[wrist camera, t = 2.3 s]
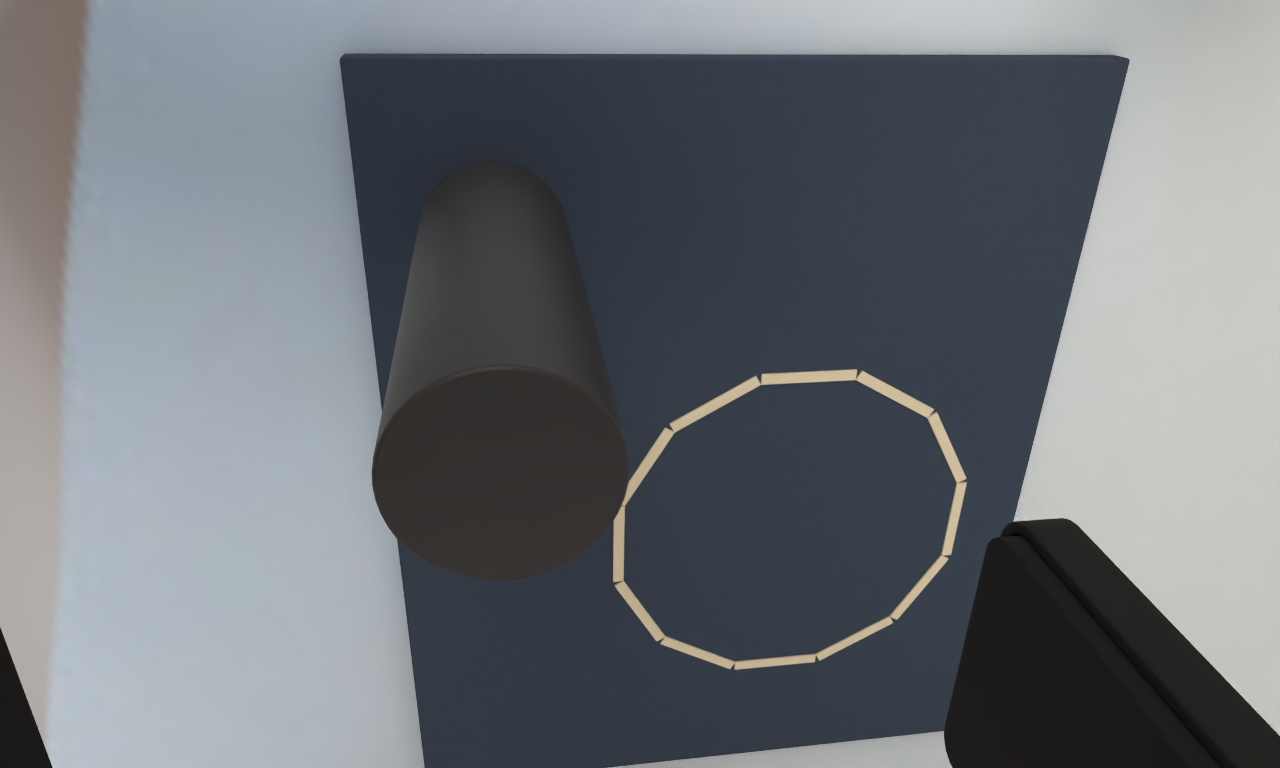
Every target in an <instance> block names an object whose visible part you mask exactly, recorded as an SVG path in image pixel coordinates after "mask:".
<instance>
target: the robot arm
mask: <svg viewBox="0 0 1280 768" xmlns="http://www.w3.org/2000/svg"><path fill="white" fill-rule="evenodd" d="M944 740H945V747H946V752H947V755H948V758H949V761H950V763H951V765H952V767H953V768H1280V736H1279V735H1278V734H1277V733H1276V732H1275V731H1274V730H1273V729H1272V728H1271V727H1270V725H1269V724H1268V723H1267V722H1266V721H1265V720H1264V719H1263V718H1262V717H1261V716H1260V715H1259V714H1258V713H1257V712H1256V711H1255V710H1254V709H1253V708H1252V707H1251V706H1250V705H1249V704H1248V703H1247V701H1246V700H1245V699H1244V698H1243V697H1242V696H1241V695H1240V694H1239V693H1238V692H1237V691H1236V690H1235V689H1234V688H1233V687H1232V686H1231V685H1230V684H1229V683H1228V682H1227V681H1226V680H1225V679H1224V678H1223V676H1222V675H1221V674H1220V673H1219V672H1218V671H1217V670H1216V669H1215V668H1214V667H1213V666H1212V665H1211V664H1210V663H1209V662H1208V661H1207V660H1206V659H1205V658H1204V657H1203V656H1202V655H1201V654H1200V653H1199V651H1198V650H1197V649H1196V648H1195V647H1194V646H1193V645H1192V644H1191V643H1190V642H1189V641H1188V640H1187V639H1186V638H1185V637H1184V636H1183V635H1182V634H1181V633H1180V632H1179V631H1178V630H1177V629H1176V628H1175V626H1174V625H1173V624H1172V623H1171V622H1170V621H1169V620H1168V619H1167V618H1166V617H1165V616H1164V615H1163V614H1162V613H1161V612H1160V611H1159V610H1158V609H1157V608H1156V607H1155V606H1154V605H1153V604H1152V603H1151V601H1150V600H1149V599H1148V598H1147V597H1146V596H1145V595H1144V594H1143V593H1142V592H1141V591H1140V590H1139V589H1138V588H1137V587H1136V586H1135V585H1134V584H1133V583H1132V582H1131V581H1130V580H1129V579H1128V577H1127V576H1126V575H1125V574H1124V573H1123V572H1122V571H1121V570H1120V569H1119V568H1118V567H1117V566H1116V565H1115V564H1114V563H1113V562H1112V561H1111V560H1110V559H1109V558H1108V557H1107V556H1106V555H1105V554H1104V552H1103V551H1102V550H1101V549H1100V548H1099V547H1098V546H1097V545H1096V544H1095V543H1094V542H1093V541H1092V540H1091V539H1090V538H1089V537H1088V536H1087V535H1086V534H1085V533H1084V532H1083V531H1082V530H1081V529H1080V527H1079V526H1077V525H1076V524H1075V523H1073V522H1072V521H1071V520H1068V519H1063V518H1060V519H1045V520H1031V521H1016V522H1012V523H1009V524H1007V525H1006V527H1005V528H1004V529H1003V530H1002V533H1001V536H1000V537H996V538H993V539H991V541H990V542H989V543H988V545H987V548H986V551H985V556H984V560H983V564H982V568H981V573H980V577H979V581H978V586H977V590H976V594H975V599H974V603H973V607H972V611H971V616H970V620H969V624H968V629H967V633H966V637H965V641H964V646H963V650H962V654H961V659H960V663H959V667H958V672H957V676H956V680H955V684H954V689H953V693H952V697H951V702H950V706H949V710H948V715H947V719H946V723H945V730H944ZM0 768H52V765H51V762H50V760H49V757H48V754H47V752H46V749H45V746H44V744H43V741H42V738H41V735H40V733H39V730H38V727H37V725H36V722H35V719H34V717H33V714H32V711H31V709H30V706H29V703H28V701H27V698H26V695H25V693H24V690H23V687H22V685H21V682H20V679H19V676H18V674H17V671H16V668H15V666H14V663H13V660H12V658H11V655H10V652H9V650H8V647H7V644H6V642H5V639H4V636H3V634H2V631H1V628H0Z"/></svg>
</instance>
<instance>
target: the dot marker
mask: <svg viewBox="0 0 1280 768" xmlns="http://www.w3.org/2000/svg"><path fill="white" fill-rule="evenodd" d="M629 471H630V469H629V455H628V450H627V446H626V441H625V438H624V434H623V430H622V426H621V423H620V419H619V415H618V411H617V407H616V404H615V400H614V396H613V392H612V389H611V385H610V381H609V377H608V374H607V370H606V366H605V362H604V359H603V355H602V351H601V347H600V344H599V340H598V336H597V332H596V329H595V325H594V321H593V317H592V314H591V310H590V306H589V302H588V299H587V295H586V291H585V287H584V284H583V280H582V276H581V272H580V269H579V265H578V261H577V257H576V254H575V250H574V246H573V242H572V239H571V235H570V231H569V227H568V223H567V220H566V216H565V213H564V210H563V208H562V205H561V204H560V202H559V200H558V198H557V197H556V195H555V194H554V192H553V191H552V190H551V189H550V188H549V186H548V185H547V184H546V183H545V182H543V181H542V180H541V179H540V178H539V177H537V176H536V175H534V174H533V173H531V172H529V171H527V170H525V169H523V168H521V167H518V166H515V165H511V164H506V163H501V162H484V163H477V164H473V165H469V166H466V167H463V168H461V169H459V170H457V171H455V172H453V173H451V174H450V175H449V176H447V177H446V178H444V179H443V180H442V181H441V182H440V183H439V184H438V185H437V186H436V187H435V189H434V190H433V191H432V192H431V194H430V195H429V197H428V199H427V200H426V202H425V205H424V207H423V210H422V213H421V217H420V222H419V227H418V232H417V237H416V242H415V247H414V252H413V257H412V263H411V268H410V273H409V278H408V283H407V288H406V293H405V298H404V303H403V309H402V314H401V319H400V324H399V329H398V334H397V339H396V344H395V350H394V355H393V360H392V365H391V370H390V375H389V380H388V385H387V390H386V396H385V401H384V406H383V411H382V416H381V421H380V426H379V431H378V437H377V442H376V447H375V452H374V457H373V466H372V485H373V491H374V495H375V500H376V503H377V505H378V508H379V511H380V513H381V515H382V517H383V519H384V520H385V522H386V524H387V526H388V527H389V529H390V530H391V531H392V533H393V534H394V535H395V536H396V538H397V539H398V540H399V541H400V542H401V543H402V544H403V545H404V546H405V547H406V548H407V549H408V550H409V551H411V552H412V553H414V554H415V555H416V556H418V557H419V558H420V559H422V560H424V561H425V562H427V563H429V564H431V565H432V566H434V567H437V568H439V569H442V570H444V571H446V572H449V573H452V574H456V575H459V576H463V577H468V578H474V579H481V580H513V579H521V578H527V577H531V576H535V575H539V574H542V573H545V572H548V571H551V570H554V569H556V568H558V567H560V566H562V565H564V564H567V563H569V562H570V561H572V560H573V559H575V558H577V557H578V556H580V555H581V554H583V553H584V552H585V551H586V550H588V549H589V548H590V547H592V546H593V545H594V544H595V543H596V542H597V541H598V540H599V539H600V538H601V537H602V536H603V535H604V533H605V532H606V531H607V529H608V528H609V527H610V526H611V524H612V523H613V521H614V519H615V517H616V516H617V514H618V512H619V510H620V508H621V506H622V503H623V501H624V498H625V495H626V491H627V487H628V481H629Z"/></svg>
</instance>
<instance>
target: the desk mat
mask: <svg viewBox="0 0 1280 768" xmlns="http://www.w3.org/2000/svg"><path fill="white" fill-rule="evenodd" d="M1128 65H1129V59H1128V58H1124V57H1120V56H1115V55H684V54H344V55H343V56H342V57H341V58H340V66H341V74H342V82H343V91H344V99H345V107H346V116H347V124H348V132H349V141H350V149H351V157H352V165H353V174H354V182H355V190H356V199H357V207H358V215H359V224H360V232H361V240H362V249H363V257H364V265H365V274H366V282H367V290H368V299H369V307H370V315H371V323H372V332H373V340H374V348H375V357H376V365H377V373H378V382H379V390H380V398H381V407H382V411H383V406H384V401H385V396H386V390H387V385H388V380H389V375H390V370H391V365H392V360H393V355H394V350H395V344H396V339H397V334H398V329H399V324H400V319H401V314H402V309H403V303H404V298H405V293H406V288H407V283H408V278H409V273H410V268H411V263H412V257H413V252H414V247H415V242H416V237H417V232H418V227H419V222H420V217H421V213H422V210H423V207H424V205H425V202H426V200H427V199H428V197H429V195H430V194H431V192H432V191H433V190H434V189H435V187H436V186H437V185H438V184H439V183H440V182H441V181H442V180H443V179H444V178H446V177H447V176H449V175H450V174H451V173H453V172H455V171H457V170H459V169H461V168H463V167H466V166H469V165H473V164H477V163H484V162H501V163H506V164H511V165H515V166H518V167H521V168H523V169H525V170H527V171H529V172H531V173H533V174H534V175H536V176H537V177H539V178H540V179H541V180H542V181H543V182H545V183H546V184H547V185H548V186H549V188H550V189H551V190H552V191H553V192H554V194H555V195H556V197H557V198H558V200H559V202H560V204H561V205H562V208H563V210H564V213H565V216H566V220H567V223H568V227H569V231H570V235H571V239H572V242H573V246H574V250H575V254H576V257H577V261H578V265H579V269H580V272H581V276H582V280H583V284H584V287H585V291H586V295H587V299H588V302H589V306H590V310H591V314H592V317H593V321H594V325H595V329H596V332H597V336H598V340H599V344H600V347H601V351H602V355H603V359H604V362H605V366H606V370H607V374H608V377H609V381H610V385H611V389H612V392H613V396H614V400H615V404H616V407H617V411H618V415H619V419H620V423H621V426H622V430H623V434H624V438H625V441H626V446H627V450H628V455H629V469H630V471H629V481H628V487H627V491H626V495H625V498H624V501H623V503H622V506H621V508H620V510H619V512H618V514H617V516H616V517H615V519H614V521H613V523H612V524H611V526H610V527H609V528H608V529H607V531H606V532H605V533H604V535H603V536H602V537H601V538H600V539H599V540H598V541H597V542H596V543H595V544H594V545H593V546H592V547H590V548H589V549H588V550H586V551H585V552H584V553H583V554H581V555H580V556H578V557H577V558H575V559H573V560H572V561H570V562H569V563H567V564H564V565H562V566H560V567H558V568H556V569H554V570H551V571H548V572H545V573H542V574H539V575H535V576H531V577H527V578H521V579H513V580H481V579H474V578H468V577H463V576H459V575H456V574H452V573H449V572H446V571H444V570H442V569H439V568H437V567H434V566H432V565H431V564H429V563H427V562H425V561H424V560H422V559H420V558H419V557H418V556H416V555H415V554H414V553H412V552H411V551H409V550H408V549H407V548H406V547H405V546H404V545H403V544H402V543H401V542H400V541H399V540H398V539H397V540H398V548H399V556H400V565H401V573H402V581H403V590H404V598H405V606H406V615H407V623H408V631H409V639H410V648H411V656H412V664H413V673H414V681H415V689H416V698H417V706H418V714H419V723H420V731H421V739H422V748H423V756H424V764H425V768H607V767H616V766H625V765H634V764H643V763H653V762H662V761H671V760H680V759H689V758H699V757H708V756H717V755H726V754H735V753H744V752H754V751H763V750H772V749H781V748H790V747H799V746H809V745H818V744H827V743H836V742H845V741H854V740H864V739H873V738H882V737H891V736H900V735H910V734H919V733H928V732H937V731H944V730H945V723H946V719H947V715H948V710H949V706H950V702H951V697H952V693H953V689H954V684H955V680H956V676H957V672H958V667H959V663H960V659H961V654H962V650H963V646H964V641H965V637H966V633H967V629H968V624H969V620H970V616H971V611H972V607H973V603H974V599H975V594H976V590H977V586H978V581H979V577H980V573H981V568H982V564H983V560H984V556H985V551H986V548H987V545H988V543H989V542H990V541H991V539H993V538H996V537H1000V536H1001V533H1002V530H1003V529H1004V528H1005V527H1006V525H1007V524H1009V523H1012V522H1013V520H1014V516H1015V512H1016V508H1017V504H1018V500H1019V496H1020V492H1021V488H1022V484H1023V480H1024V476H1025V473H1026V469H1027V465H1028V461H1029V457H1030V453H1031V449H1032V445H1033V441H1034V437H1035V433H1036V429H1037V425H1038V421H1039V417H1040V413H1041V409H1042V405H1043V401H1044V397H1045V393H1046V389H1047V386H1048V382H1049V378H1050V374H1051V370H1052V366H1053V362H1054V358H1055V354H1056V350H1057V346H1058V342H1059V338H1060V334H1061V330H1062V326H1063V322H1064V318H1065V314H1066V310H1067V306H1068V302H1069V299H1070V295H1071V291H1072V287H1073V283H1074V279H1075V275H1076V271H1077V267H1078V263H1079V259H1080V255H1081V251H1082V247H1083V243H1084V239H1085V235H1086V231H1087V227H1088V223H1089V219H1090V215H1091V211H1092V208H1093V204H1094V200H1095V196H1096V192H1097V188H1098V184H1099V180H1100V176H1101V172H1102V168H1103V164H1104V160H1105V156H1106V152H1107V148H1108V144H1109V140H1110V136H1111V132H1112V128H1113V124H1114V121H1115V117H1116V113H1117V109H1118V105H1119V101H1120V97H1121V93H1122V89H1123V85H1124V81H1125V77H1126V73H1127V69H1128Z"/></svg>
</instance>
